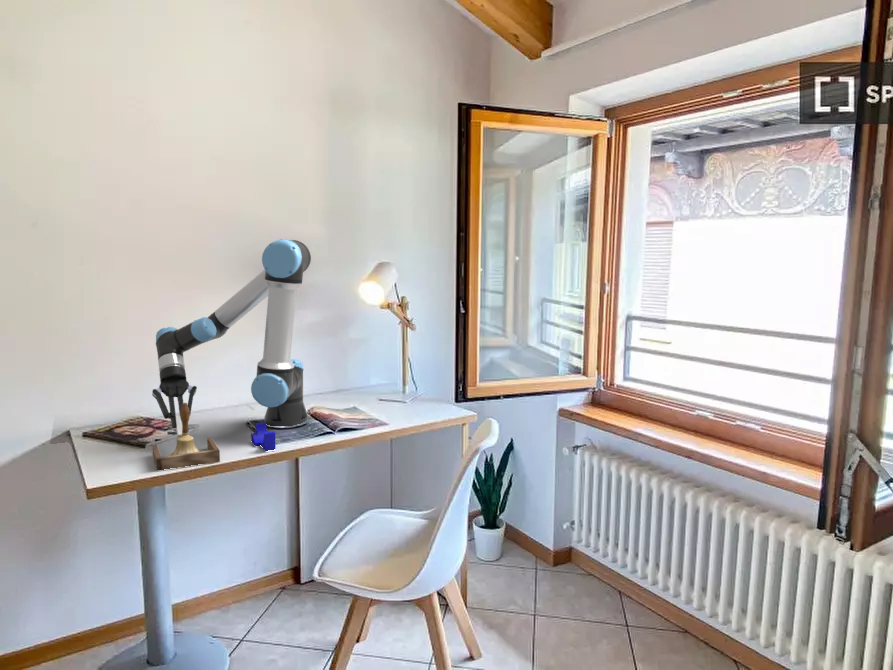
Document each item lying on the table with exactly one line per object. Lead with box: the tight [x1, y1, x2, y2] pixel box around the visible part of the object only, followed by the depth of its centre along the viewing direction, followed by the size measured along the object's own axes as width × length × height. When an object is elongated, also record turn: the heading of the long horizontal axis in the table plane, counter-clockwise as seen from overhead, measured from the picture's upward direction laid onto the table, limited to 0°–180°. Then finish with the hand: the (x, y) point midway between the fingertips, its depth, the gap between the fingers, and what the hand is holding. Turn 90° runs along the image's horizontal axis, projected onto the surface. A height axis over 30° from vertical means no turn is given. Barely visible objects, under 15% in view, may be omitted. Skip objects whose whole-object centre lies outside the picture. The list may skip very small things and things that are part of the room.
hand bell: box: [169, 402, 201, 456], centre depth 174 cm, size 8×8×16 cm
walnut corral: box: [151, 436, 221, 471], centre depth 171 cm, size 16×13×4 cm
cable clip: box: [250, 422, 276, 452], centre depth 184 cm, size 12×4×6 cm, turn 32°
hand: (180, 436), depth 176 cm, fingers closed
